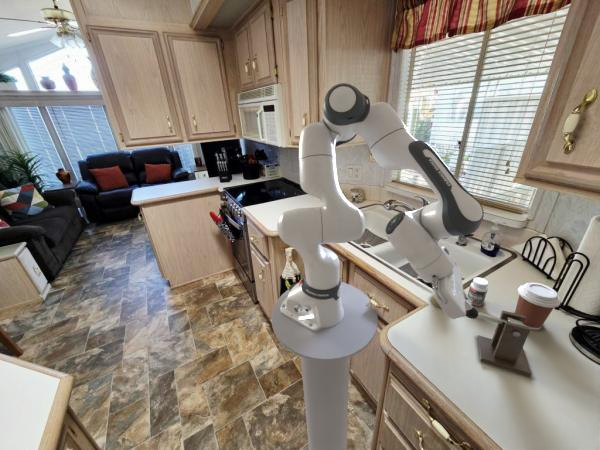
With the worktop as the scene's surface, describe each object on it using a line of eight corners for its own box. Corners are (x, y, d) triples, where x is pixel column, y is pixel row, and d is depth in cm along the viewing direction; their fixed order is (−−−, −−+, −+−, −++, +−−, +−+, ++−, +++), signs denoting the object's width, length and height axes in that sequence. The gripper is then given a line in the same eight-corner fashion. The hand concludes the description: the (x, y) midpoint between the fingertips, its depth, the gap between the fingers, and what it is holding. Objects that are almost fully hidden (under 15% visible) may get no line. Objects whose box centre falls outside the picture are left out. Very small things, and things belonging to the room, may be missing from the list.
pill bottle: (464, 301, 84) (470, 281, 81) (468, 294, 87) (474, 274, 84) (481, 308, 81) (487, 287, 77) (484, 300, 84) (491, 280, 80)
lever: (462, 318, 65) (466, 309, 63) (461, 310, 67) (465, 301, 66) (519, 336, 60) (525, 327, 58) (516, 327, 62) (521, 318, 61)
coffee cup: (547, 338, 69) (563, 305, 64) (506, 322, 75) (518, 291, 70) (548, 319, 75) (563, 288, 70) (510, 306, 81) (521, 275, 76)
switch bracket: (480, 361, 64) (493, 325, 59) (476, 338, 71) (488, 303, 66) (530, 376, 60) (548, 339, 55) (521, 350, 66) (537, 314, 61)
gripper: (446, 285, 54) (488, 332, 54) (444, 243, 71) (476, 279, 71) (420, 295, 58) (459, 339, 58) (424, 253, 75) (455, 288, 74)
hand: (469, 306), depth 64 cm, fingers closed, pressing on lever
